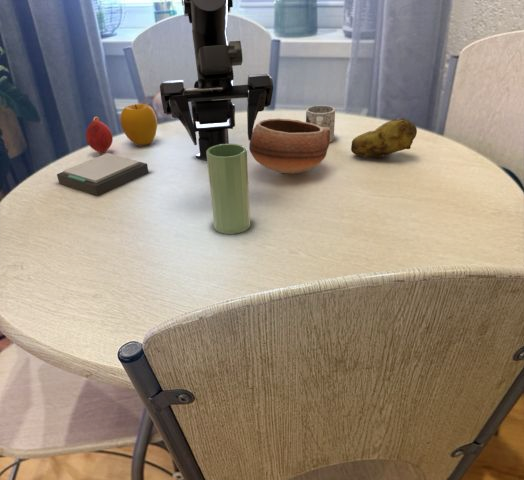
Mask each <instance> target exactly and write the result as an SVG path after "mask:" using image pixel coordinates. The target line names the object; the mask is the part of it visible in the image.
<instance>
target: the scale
mask: <svg viewBox="0 0 524 480" xmlns="http://www.w3.org/2000/svg"><path fill="white" fill-rule="evenodd" d="M149 173H150V172H149V166H148V163H146V162H142V161H139V160H137V159H132V158H128V157H125V156H120V155H117V154H113V153H109V152H105V153H103V154H101V155H99V156H96V157H93V158H92V159H89V160H86V161H83V162H82V163H79V164H76V165H73V166H71V167H69V168H67V169H64V170H62V171H61V172H59V173H57V174H56V176H57V181H58V184H60V185H63V186H65V187H69V188H72V189H75V190H77V191H81V192H85V193H86V194H87V193H88V194H91V195H93V196H97V197H99V196H101V195H104V194H106V193H109V192H110V191H112V190H114V189H116V188H119V187H121V186H123V185H125V184H127V183H129V182H131V181H134V180H136V179H139V178H141V177H142V176H145V175H147V174H149Z"/></svg>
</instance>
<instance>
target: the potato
mask: <svg viewBox="0 0 524 480" xmlns="http://www.w3.org/2000/svg"><path fill="white" fill-rule="evenodd" d="M417 133H418V128H417V126H416V125H415V124H414V123H413V122H411V121H410V120H408V119H406V118H395V119H392V120H388V121H387V122H385V123H383V124H381V125H380V126H378V127H377V128H375V129H374V130H370V131H369V130H368V131H366V132H364V133H362V134H359V135H357V136H356V137H354V138H353V139H352V141H351V145H350V151H351V152H352V154H354V155H355V156H357V157H360V158H364V157H369V158H371V157H372V158H374V157H375V158H377V157H378V158H381V157H386V156H389V155H392V154H394V153H398V152H400V151H404V150H410V149H411V148H412V147H411V146H412V145H413V142H414V140H415V138H416V137H417Z"/></svg>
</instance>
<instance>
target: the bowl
mask: <svg viewBox="0 0 524 480" xmlns="http://www.w3.org/2000/svg"><path fill="white" fill-rule="evenodd" d="M330 143H331V142H330V129H329V128H328V127H321V126H318V125H316V124H312V123H308V122H306V121H302V120H298V119H289V118H268V119H263V120H259V121H258V122H257V123H256V124H255V125H254V127H253V132H252V138H251V141H249V147H248V149H249V152H250V154H251V156H252V157H253V159H254V160H255V161H256V163H259V164H260V165H261V166H263V167H265V168H266V169H268V170H272V171H274V172H277V173H281V174H298V173H299V174H300V173H303V172H306V171H308V170H311V169H313V168H314V167H316V166H318V165H319V164H321V163H322V162H323V161H324V159H326V156H327V154H328V149H329V147H330Z"/></svg>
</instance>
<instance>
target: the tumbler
mask: <svg viewBox="0 0 524 480" xmlns="http://www.w3.org/2000/svg"><path fill="white" fill-rule="evenodd" d="M206 152H207V160H206V162H207V170H208V182H209V191H210V200H211V202H210V203H211V210H212V211H211V213H212V221H213V228H214V230H215V231H216V232H217V233H221V234H225V235H235V234H240V233H244V232H245V231H247V230H248V229H249V228H251V227H250V226H251V210H250V208H251V207H250V189H249V188H250V187H249V168H248V149H247V148H246V146H243V145H242V144H238V143H229V144H220V145H215V146H212V147H210V148H209V149H208V150H207V151H206Z"/></svg>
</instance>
